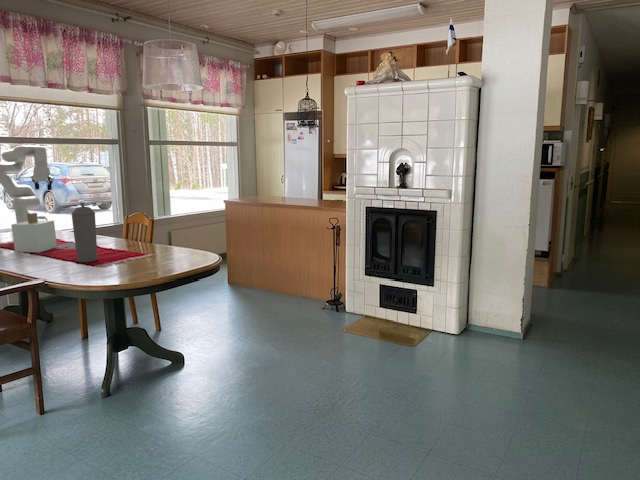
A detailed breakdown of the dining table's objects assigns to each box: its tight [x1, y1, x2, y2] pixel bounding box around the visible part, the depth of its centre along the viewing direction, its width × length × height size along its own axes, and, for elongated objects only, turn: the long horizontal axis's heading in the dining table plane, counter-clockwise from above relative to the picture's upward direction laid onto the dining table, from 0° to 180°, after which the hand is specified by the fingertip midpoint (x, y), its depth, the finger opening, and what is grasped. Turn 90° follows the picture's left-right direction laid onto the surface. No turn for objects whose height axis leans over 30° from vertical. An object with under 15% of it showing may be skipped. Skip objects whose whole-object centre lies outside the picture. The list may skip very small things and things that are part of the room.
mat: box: [53, 241, 76, 250], centre depth 330 cm, size 20×20×1 cm
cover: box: [11, 212, 58, 253], centre depth 316 cm, size 17×17×24 cm
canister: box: [70, 202, 98, 263], centre depth 285 cm, size 13×13×35 cm
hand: (43, 189), depth 331 cm, fingers open, 9 cm apart
